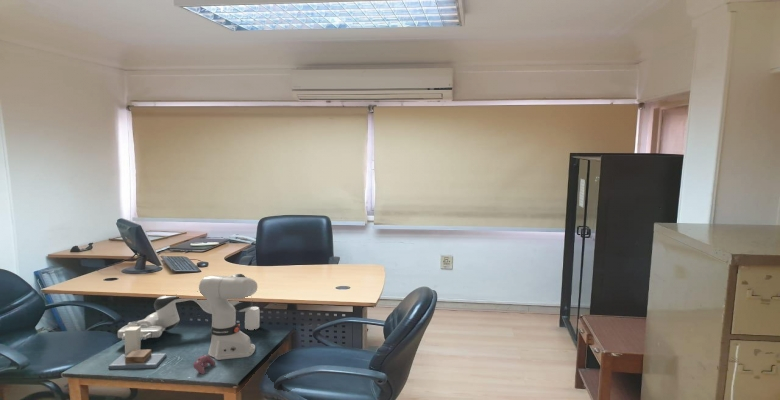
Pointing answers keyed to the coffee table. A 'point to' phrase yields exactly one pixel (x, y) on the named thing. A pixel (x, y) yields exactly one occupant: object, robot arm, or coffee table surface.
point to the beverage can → (252, 318)
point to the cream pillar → (132, 339)
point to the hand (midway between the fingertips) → (133, 338)
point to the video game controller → (205, 361)
